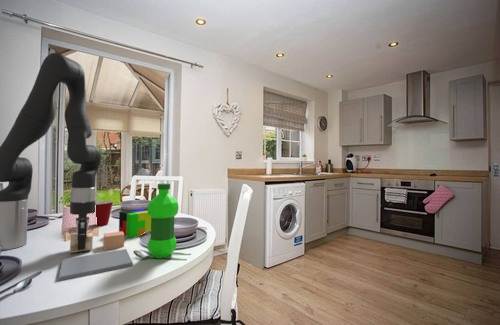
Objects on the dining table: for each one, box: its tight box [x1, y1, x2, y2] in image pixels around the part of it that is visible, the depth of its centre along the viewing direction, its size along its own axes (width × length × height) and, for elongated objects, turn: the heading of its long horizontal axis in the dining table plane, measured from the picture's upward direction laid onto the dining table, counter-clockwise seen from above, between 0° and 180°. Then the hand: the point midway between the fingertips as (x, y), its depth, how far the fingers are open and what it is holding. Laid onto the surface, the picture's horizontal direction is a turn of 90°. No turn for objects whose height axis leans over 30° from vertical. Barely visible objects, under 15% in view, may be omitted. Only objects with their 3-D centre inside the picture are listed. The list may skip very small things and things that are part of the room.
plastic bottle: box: [147, 183, 179, 259], centre depth 83 cm, size 10×10×25 cm
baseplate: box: [58, 248, 134, 282], centre depth 75 cm, size 18×14×1 cm
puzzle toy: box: [118, 208, 151, 239], centre depth 109 cm, size 10×10×10 cm
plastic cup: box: [96, 200, 114, 227], centre depth 122 cm, size 11×11×12 cm
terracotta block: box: [102, 231, 125, 250], centre depth 91 cm, size 6×5×5 cm
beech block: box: [69, 232, 94, 254], centre depth 86 cm, size 6×5×5 cm
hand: (81, 246), depth 86 cm, fingers closed on beech block, 5 cm apart
